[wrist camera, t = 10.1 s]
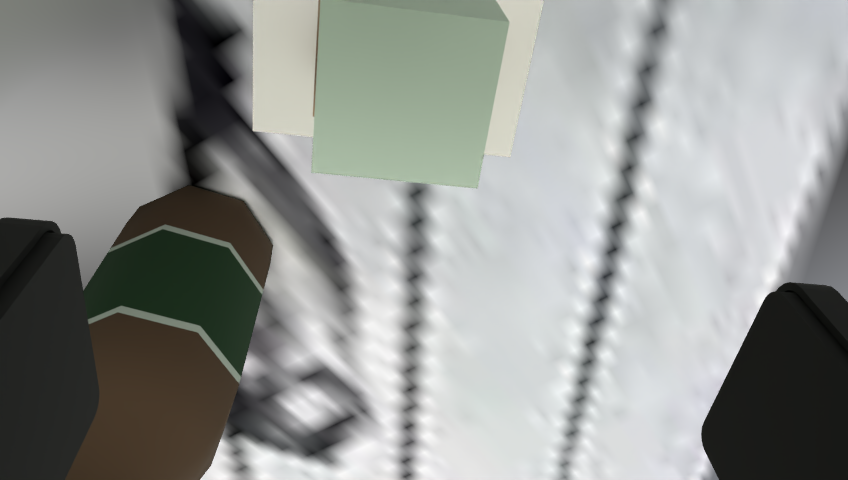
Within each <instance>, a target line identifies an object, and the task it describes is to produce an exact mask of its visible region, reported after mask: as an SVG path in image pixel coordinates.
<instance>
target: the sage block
mask: <svg viewBox="0 0 848 480" xmlns="http://www.w3.org/2000/svg"><path fill="white" fill-rule="evenodd" d="M509 23H510V22H509V20H508V19H507V17H506V16H505V14H504V12H503V11H502V9H501V8H500V6H499V4H498V3H497V1H496V0H320V18H319V37H318V56H317V75H316V94H315V113H314V133H313V152H312V171H311V173H322V174H332V175H342V176H353V177H363V178H374V179H384V180H394V181H405V182H415V183H425V184H436V185H446V186H457V187H467V188H477V187H478V182H479V177H480V172H481V167H482V162H483V156H484V151H485V146H486V141H487V136H488V131H489V126H490V120H491V115H492V110H493V105H494V100H495V95H496V89H497V84H498V79H499V74H500V69H501V64H502V59H503V53H504V48H505V43H506V38H507V33H508V28H509Z"/></svg>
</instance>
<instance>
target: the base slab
mask: <svg viewBox="0 0 848 480" xmlns="http://www.w3.org/2000/svg"><path fill="white" fill-rule="evenodd" d="M496 1H497V3H498V4H499V6H500V8H501V9H502V11H503V12H504V14H505V16H506V17H507V19H508V20H509V22H510V23H509V28H508V33H507V38H506V43H505V48H504V53H503V59H502V64H501V69H500V74H499V79H498V84H497V89H496V95H495V100H494V105H493V110H492V115H491V120H490V126H489V131H488V136H487V141H486V146H485V151H484V155H494V156H504V157H510V155H511V151H512V146H513V141H514V137H515V132H516V127H517V123H518V118H519V113H520V109H521V104H522V100H523V95H524V90H525V86H526V81H527V76H528V72H529V67H530V63H531V58H532V53H533V49H534V44H535V39H536V35H537V30H538V25H539V21H540V16H541V12H542V7H543V2H544V0H496ZM317 20H318V0H253V131H258V132H267V133H277V134H287V135H297V136H307V137H313V133H314V117H313V99H314V79H315V59H316V39H317Z"/></svg>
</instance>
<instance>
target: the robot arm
mask: <svg viewBox="0 0 848 480" xmlns="http://www.w3.org/2000/svg"><path fill="white" fill-rule="evenodd" d="M99 394H100V392H99V384H98V378H97V371H96V365H95V359H94V353H93V347H92V341H91V335H90V329H89V323H88V317H87V311H86V305H85V299H84V293H83V287H82V282H81V276H80V269H79V263H78V257H77V251H76V245H75V242H74V239H73V237H72V236H71V235H69V234H61V232H60V229H59V227H58V226H57V224H56V223H54V222H52V221H42V220H31V219H19V218H1V219H0V480H65V479H66V476H67V474H68V472H69V470H70V468H71V466H72V464H73V462H74V460H75V458H76V455H77V453H78V451H79V449H80V447H81V445H82V443H83V441H84V439H85V437H86V435H87V432H88V430H89V428H90V426H91V424H92V422H93V420H94V418H95V415H96V412H97V408H98V404H99ZM701 435H702V444H703V447H704V450H705V452H706V454H707V456H708V458H709V460H710V462H711V464H712V466H713V468H714V470H715V472H716V474H717V476H718V478H719V480H848V302H847V301H846V300H845V299H844V298H843V297H842V296H841V295H840V294H839V293H838V291H836V290H835V289H834V288H832V287H830V286H826V285H816V284H804V283H792V282H789V283H785V284H783V285H782V286H780V287H779V288H778V289H777V291H775V292H771V293H770V294H769V295H767V297H766V298H765V300H764V301H763V303H762V305H761V307H760V309H759V312H758V314H757V316H756V318H755V320H754V322H753V324H752V326H751V328H750V330H749V332H748V334H747V336H746V338H745V340H744V342H743V344H742V346H741V348H740V350H739V352H738V354H737V356H736V358H735V360H734V362H733V364H732V366H731V368H730V370H729V372H728V374H727V376H726V378H725V380H724V382H723V384H722V386H721V389H720V391H719V393H718V395H717V397H716V399H715V401H714V403H713V405H712V407H711V409H710V411H709V413H708V415H707V417H706V419H705V421H704V423H703V426H702V433H701Z"/></svg>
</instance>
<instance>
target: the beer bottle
mask: <svg viewBox="0 0 848 480" xmlns="http://www.w3.org/2000/svg"><path fill="white" fill-rule="evenodd" d="M272 248H273V245H272V243H271V242H270V240H269V239H268V237H267V236H266V234H265V233H264V231H263V230H262V228H261V227H260V225H259V224H258V222H257V221H256V219H255V218H254V216H253V215H252V213H251V212H250V210H249V209H248V207H247V206H246V204H245V203H244V201H241V200H237V199H234V198H231V197H227V196H224V195H221V194H217V193H214V192H211V191H207V190H204V189H201V188H197V187H194V186H191V185H188V186H186V187H183V188H181V189H179V190H176V191H174V192H172V193H170V194H167V195H165V196H163V197H161V198H158V199H156V200H154V201H152V202H149V203H147V204H145V205H143V206H140V207H139V208H138V209H137V211H136V212H135V213H134V215H133V216H132V217H131V218H130V220H129V221H128V222H127V223H126V225H125V227H124V228H123V230H122V231H121V233H120V235H119V236H118V237H117V239H116V241H115V242H114V244H113V245H112V247H111V248H110V250H109V252H108V253H107V255H106V256H105V258H104V259H103V261H102V263H101V264H100V266H99V267H98V269H97V270H96V272H95V274H94V275H93V277H92V278H91V280H90V281H89V283H88V285H87V286H86V288H85V289H84V291H83V293H84V299H85V305H86V311H87V317H88V323H89V329H90V335H91V341H92V347H93V353H94V359H95V365H96V371H97V378H98V384H99V392H100V394H99V404H98V408H97V412H96V415H95V418H94V420H93V422H92V424H91V426H90V428H89V430H88V432H87V435H86V437H85V439H84V441H83V443H82V445H81V447H80V449H79V451H78V453H77V455H76V458H75V460H74V462H73V464H72V466H71V468H70V470H69V472H68V474H67V476H66V479H65V480H200V479H201V477H202V476H203V475H204V474H205V472H206V471H207V470H208V469H209V467H210V466H211V464H212V461H213V458H214V456H215V453H216V450H217V447H218V445H219V442H220V439H221V437H222V434H223V431H224V428H225V425H226V422H227V419H228V416H229V413H230V410H231V407H232V404H233V401H234V398H235V395H236V392H237V389H238V386H239V383H240V379H241V375H242V371H243V367H244V363H245V359H246V356H247V352H248V348H249V344H250V340H251V336H252V332H253V328H254V324H255V321H256V317H257V313H258V309H259V305H260V301H261V297H262V293H263V289H264V286H265V282H266V278H267V274H268V270H269V266H270V261H271V255H272Z"/></svg>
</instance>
